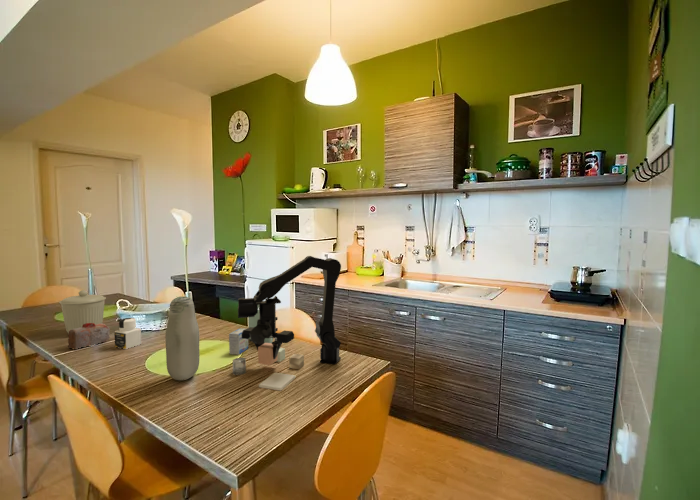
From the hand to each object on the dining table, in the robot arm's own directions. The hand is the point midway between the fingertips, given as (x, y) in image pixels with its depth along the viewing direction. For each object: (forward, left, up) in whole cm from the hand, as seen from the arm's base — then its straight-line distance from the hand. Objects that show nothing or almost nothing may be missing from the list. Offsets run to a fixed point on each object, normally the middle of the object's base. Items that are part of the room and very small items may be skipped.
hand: (268, 358), depth 123 cm
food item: (+88, +1, -4) cm, 88 cm away
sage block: (+1, -9, -4) cm, 10 cm away
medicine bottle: (+71, -3, -4) cm, 71 cm away
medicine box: (+21, -12, -4) cm, 25 cm away
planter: (+18, -28, -4) cm, 34 cm away
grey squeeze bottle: (+23, +16, -4) cm, 28 cm away
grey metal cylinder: (+8, +6, -4) cm, 11 cm away
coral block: (0, 0, -1) cm, 1 cm away
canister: (+109, -11, -4) cm, 110 cm away
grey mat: (-9, +9, -4) cm, 13 cm away
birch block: (-9, -5, -4) cm, 11 cm away
